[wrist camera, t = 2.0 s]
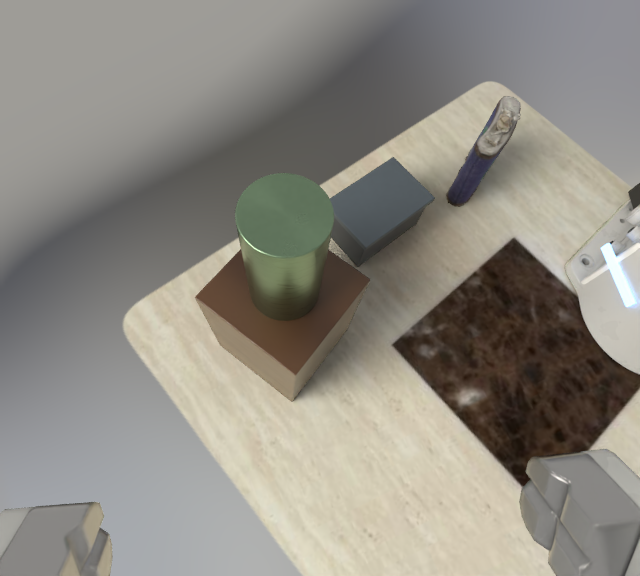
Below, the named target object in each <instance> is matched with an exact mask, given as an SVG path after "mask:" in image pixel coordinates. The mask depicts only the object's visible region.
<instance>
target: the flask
mask: <svg viewBox="0 0 640 576" xmlns="http://www.w3.org/2000/svg"><path fill="white" fill-rule="evenodd" d="M519 119H520V102H519V101H518V100H517V99H515V98H514V97H510V96H507V97H505V96H504V97H503V98H502V99H501V100H500V101H499V102H498V104H497V106H496V108H495V109H494V111H493V113H492V115H491V117H490V118H489V120H488V122H487V124H486V125H485V127H484V129H483V130H482V132H481V134H480V135H479V137H478V139H477V141H476V142H475V144H474V146H473V147H472V149H471V150H470V152H469V154H468V156H467V157H466V159H465V160H466V162H465V164H464V165H463V166H462V167H461V169H460V170H459V173H458V176H457V177H456V179H455V181H454V182H453V184H452V186H451V187H450V189H449V191H448V193H447V194H446V196H447V200H448V203H450V204H452V205H454V206H458V207H460V206H462V205H464V203H466V202H467V201H468V200H469V198H470V197H471V196H472V195H473V193H474V192H475V190H476V188H477V187H478V185H479V183H480V182H481V180H482V179H483V177H484V176H485V174H486V172H487V171H488V169H489V168H490V167H491V165H492V164H493V162H494V161H495V159H496V158H497V157H498V155H499V154H500V152H501V151H502V149H503V148H504V146H505V145H506V144H507V142H508V141H509V139H510V137H511V136H512V133H513V131H514V129H515V127H516V124H517V121H518V120H519Z"/></svg>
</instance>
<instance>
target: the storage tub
mask: <svg viewBox="0 0 640 576" xmlns="http://www.w3.org/2000/svg"><path fill="white" fill-rule="evenodd" d="M434 199H435V197H434V196H433V195H432V194H430V193H429V192H428V191H427V190H426V189H425V188H424V187H423V186H422V185H421V184H420V183H419V182H418V181H417V180H416V179H415V178H414V177H413V176H412V175H411V174H410V173H409V172H408V171H407V170H406V169H405V168H404V167H403V166H402V165H401V164H400V163H399V162H398V161H397V160H396V159H395V158H394V157H393V158H391V159H390V160H388V161H387V162H385V163H384V164H382V165H380V166H379V167H377V168H376V169H374V170H373V171H371V172H370V173H368V174H367V175H365V176H364V177H362V178H361V179H359V180H358V181H356V182H355V183H353V184H351V185H350V186H348V187H347V188H345V189H344V190H342V191H341V192H339V193H338V194H336V195H335V196H333V197H332V198H330V201H331V203H332V206H333V210H334V223H333V228H332V233H331V238H332V239H333V240H334V241H335V242H336V243H337V244H338V245H339V247H340V248H341V249H342V250H343V251H344V252H345V253H346V254H347V255H348V257H349V258H350V259H351V260H352V261H353V262H354V263H355V264H356V265H357V266H360V265H361V264H362V263H364V262H365V261H366V260H368V259H369V258H370V257H372V256H373V255H375V254H376V253H377V252H379V251H380V250H381V249H383V248H384V247H385V246H387V245H388V244H390V243H391V242H392V241H394V240H395V239H396V238H398V237H399V236H400V235H402V234H403V233H405V232H406V231H407V230H409V229H410V228H411V227H413V226H414V225H415V224H417V222H418V220H419V218H420V216H421V215H422V213H423V211H424V209H425V207H426V206H428V205H429V204H430V203H432V202H433V201H434Z"/></svg>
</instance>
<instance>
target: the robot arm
mask: <svg viewBox="0 0 640 576" xmlns="http://www.w3.org/2000/svg"><path fill="white" fill-rule="evenodd" d="M628 193H629V196H630V199H629V200H628V201H626V202H625V203H624V204H623V205H622V206H621V207H620V208H619V210H618V211H617V212H616V213H615V214H614V215H613V216H612V217H611V218H610V219H609V220H608V221H607V222H606V223H605V224H604V225H603V226H602V227H601V228H600V229H599V230H598V231H597V232H596V233H595V234H594V235H593V236H592V237H591V238H590V239H589V240H588V241H587V242H586V243H585V244H584V245H583V247H582V248H581V249H580V250H579V251H578V252H577V253H576V254H575V255H574V256H573V257H572V258H571V259H570V260H569V261H568V262H567V263H566V265H565V271H566V274H567V276H568V278H569V280H570V281H571V283H572V285H573V286H574V288H575V289H576V291H577V294H578V298H579V303H580V308H581V312H582V316H583V319H584V321H585V324H586V326H587V328H588V330H589V331H590V333H591V335H592V336H593V338H594V339H595V341H596V342H597V343H598V344H599V346H600V347H601V348H602V349H603V350H604V351H605V352H606V353H607V354H608V355H609V356H610V357H611V358H612V359H614V360H615V361H616V362H618V363H619V364H620V365H622V366H624V367H625V368H627V369H629V370H631V371H633V372H635V373H637V374H639V375H640V183H639V184H638V185H636V186H635V187H634V188H633V189H631V190H630V191H629V192H628ZM582 261H583V262H584V263H585V264H583V262H582ZM526 473H527V474H528V476H529V477H530V479H531V480H530V481H529V482H528V483H527V484H526V485H525V486H524V487H523V488H522V490H521V496H520V501H519V502H520V508H521V514H522V518H523V520H524V523H525V525H526V528H527V529H528V531H529V533H530V534H531V536H532V538H533V539H534V541H536V542H537V543H539V544H540V545H541V546H543V547H544V548H546V549H547V550H549V557H548V563H549V565H550V567H551V568H552V570H553V571H554V573H555V575H556V576H640V478H639V477H638V476H637V475H636V474H635V473H634V472H633V471H632V470H631V469H630V468H629V467H628V466H627V465H626V464H625V463H624V462H623V461H622V460H621V459H620V458H619V457H618V456H617V455H616V454H614V453H613V452H611V451H609V450H607V449H600V450H591V451H582V452H571V453H562V454H553V455H544V456H536V457H532V458H531V460H530V461H529V462H528V465H527V469H526ZM103 518H104V514H103V511H102V508H101V506H100V503H97V502H89V503H75V504H62V505H49V506H36V507H29V508H16V509H5V510H4V511H2V512H1V513H0V576H110V570H111V563H112V543H111V539H110V536H109V534H108V533H107V532H106V531H104V530H103V529H101V528H100V526H101V523H102V520H103Z"/></svg>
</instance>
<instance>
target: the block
mask: <svg viewBox="0 0 640 576" xmlns="http://www.w3.org/2000/svg"><path fill="white" fill-rule="evenodd" d="M369 281H370V279H369V278H368V277H366V276H365V275H363V274H362V273H361V272H359V271H358V270H356V269H355V268H354V267H352V266H351V265H349V264H348V263H346V262H345V261H344V260H342V259H341V258H339V257H338V256H336V255H335V254H334V253H332V252H331V251H329V250H328V253H327V257H326V262H325V267H324V272H323V277H322V282H321V287H320V292H319V296H318V299H317V302H316V304H315V305H314V307H313V308H312V309H311V310H310V311H309V312H308V313H307V314H305V315H304V316H302V317H300V318H298V319H294V320H290V321H279V320H275V319H272V318H269V317H267V316H265V315H264V314H262V313H261V312H260V311H259V310H258V309H257V308H256V307H255V305H254V303H253V301H252V299H251V296H250V291H249V286H248V281H247V276H246V271H245V266H244V261H243V256H242V251H241V249H240V251H239V252H238V253H237V254H236V255H235V256H234V257H233V258H232V259H231V260H230V261H229V262H228V263H227V264H226V265H225V266H224V267H223V268H222V269H221V270H220V272H219V273H218V274H217V275H216V276H215V277H214V278H213V279H212V280H211V281H210V282H209V283H208V284H207V285H206V286H205V287H204V288H203V289H202V290H201V291H200V292H199V294H198V295H197V296H196V297H195V299H196V301H197V303H198V304H199V306H200V308H201V310H202V312H203V314H204V316H205V318H206V319H207V321H208V323H209V325H210V327H211V329H212V331H213V333H214V334H215V336H216V338H217V340H218V342H219V344H220V345H221V346H222V347H223V348H225V349H226V350H227V351H228V352H230V353H231V354H232V355H233V356H235V357H236V358H237V359H238V360H240V361H241V362H242V363H243V364H245V365H246V366H247V367H249V368H250V369H251V370H252V371H254V372H255V373H256V374H257V375H259V376H260V377H261V378H262V379H264V380H265V381H266V382H267V383H269V384H270V385H271V386H273V387H274V388H275V389H276V390H278V391H279V392H280V393H281V394H283V395H284V396H285V397H286V398H288V399H289V400H290V401H293V400H294V399H295V398H296V396H297V395H298V394H299V392H300V391H301V390H302V388H303V387H304V386H305V384H306V383H307V382H308V380H309V379H310V378H311V377H312V375H313V374H314V373H315V371H316V370H317V369H318V367H319V366H320V365H321V363H322V362H323V361H324V359H325V358H326V357H327V355H328V354H329V353H330V352H331V350H332V349H333V348H334V346H335V345H336V344H337V342H338V341H339V340H340V338H341V337H342V336H343V334H344V333H345V332H346V331H347V329H348V326H349V324H350V322H351V320H352V318H353V316H354V314H355V311H356V309H357V307H358V305H359V303H360V301H361V299H362V296H363V294H364V292H365V290H366V288H367V286H368V284H369Z"/></svg>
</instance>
